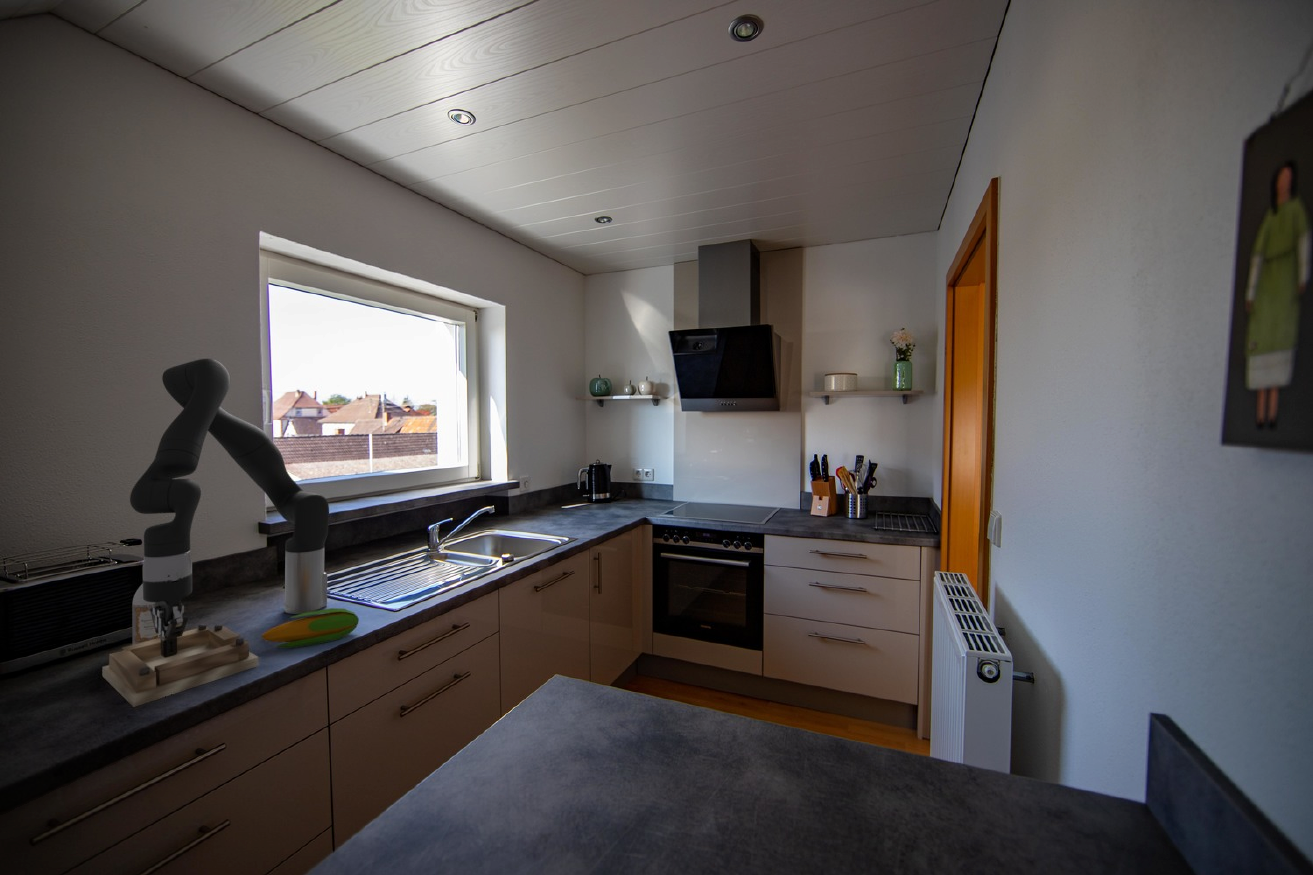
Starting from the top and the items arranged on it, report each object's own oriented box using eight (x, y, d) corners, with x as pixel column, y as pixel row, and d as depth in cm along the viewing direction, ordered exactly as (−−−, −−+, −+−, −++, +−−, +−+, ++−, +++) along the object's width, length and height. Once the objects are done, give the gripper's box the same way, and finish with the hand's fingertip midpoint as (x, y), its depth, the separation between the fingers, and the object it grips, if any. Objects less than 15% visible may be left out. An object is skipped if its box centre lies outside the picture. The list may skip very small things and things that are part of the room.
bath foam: (128, 658, 117) (128, 569, 116) (137, 646, 122) (137, 562, 122) (170, 651, 120) (170, 566, 120) (176, 640, 126) (176, 558, 125)
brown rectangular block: (245, 652, 117) (245, 634, 116) (251, 656, 115) (251, 637, 115) (154, 680, 104) (154, 660, 103) (160, 685, 102) (160, 664, 102)
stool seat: (220, 642, 126) (221, 618, 126) (258, 665, 115) (258, 639, 115) (102, 676, 109) (102, 647, 109) (133, 706, 98) (133, 675, 98)
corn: (360, 608, 131) (260, 624, 119) (360, 638, 131) (259, 657, 119) (357, 601, 137) (261, 615, 125) (357, 630, 137) (261, 647, 125)
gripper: (132, 572, 109) (133, 654, 110) (155, 585, 102) (156, 671, 103) (179, 564, 115) (180, 641, 116) (203, 575, 109) (204, 657, 109)
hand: (169, 655), depth 110 cm, fingers closed
